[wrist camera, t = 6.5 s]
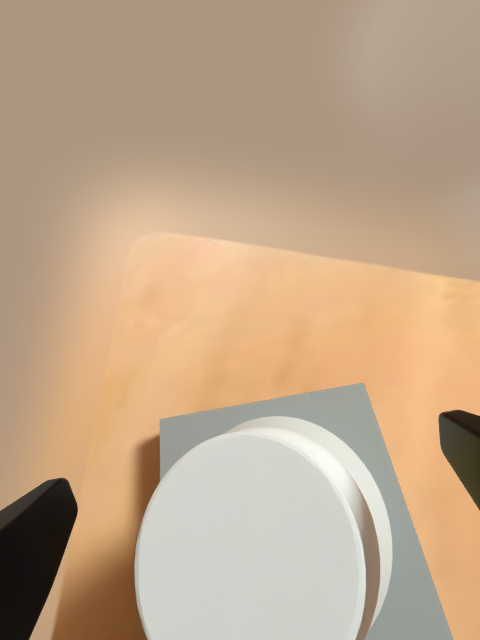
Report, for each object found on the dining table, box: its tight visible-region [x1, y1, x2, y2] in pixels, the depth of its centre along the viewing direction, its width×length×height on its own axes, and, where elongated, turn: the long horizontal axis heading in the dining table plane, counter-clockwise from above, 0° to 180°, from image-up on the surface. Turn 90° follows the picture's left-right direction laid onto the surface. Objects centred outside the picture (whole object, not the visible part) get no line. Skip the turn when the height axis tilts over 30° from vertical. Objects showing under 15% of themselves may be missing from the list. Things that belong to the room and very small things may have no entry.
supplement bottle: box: [134, 427, 380, 640], centre depth 10 cm, size 5×5×10 cm
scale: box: [160, 383, 453, 640], centre depth 14 cm, size 14×11×3 cm
